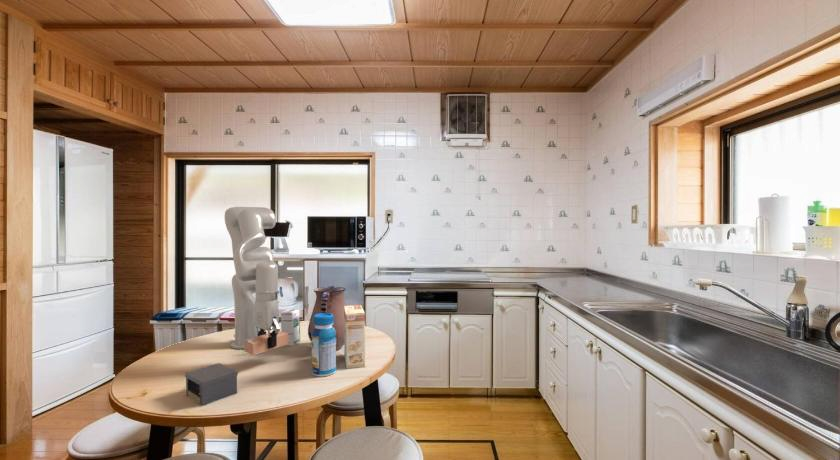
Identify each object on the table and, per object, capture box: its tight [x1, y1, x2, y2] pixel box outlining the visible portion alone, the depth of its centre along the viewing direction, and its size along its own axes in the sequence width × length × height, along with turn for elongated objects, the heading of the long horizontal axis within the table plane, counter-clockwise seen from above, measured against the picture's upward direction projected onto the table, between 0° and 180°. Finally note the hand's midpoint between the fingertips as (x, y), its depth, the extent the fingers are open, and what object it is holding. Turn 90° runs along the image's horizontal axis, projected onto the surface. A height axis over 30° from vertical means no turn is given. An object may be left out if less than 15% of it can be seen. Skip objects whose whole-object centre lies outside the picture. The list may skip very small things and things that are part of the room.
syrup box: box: [280, 308, 301, 347], centre depth 161 cm, size 6×6×14 cm
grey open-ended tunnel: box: [184, 362, 239, 407], centre depth 113 cm, size 12×10×7 cm
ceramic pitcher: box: [307, 285, 347, 351], centre depth 153 cm, size 18×21×25 cm
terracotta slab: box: [243, 330, 288, 356], centre depth 137 cm, size 6×14×4 cm, turn 144°
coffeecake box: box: [343, 304, 366, 369], centre depth 140 cm, size 15×7×20 cm, turn 14°
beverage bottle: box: [310, 313, 337, 377], centre depth 129 cm, size 8×8×20 cm
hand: (266, 344), depth 137 cm, fingers closed on terracotta slab, 6 cm apart
